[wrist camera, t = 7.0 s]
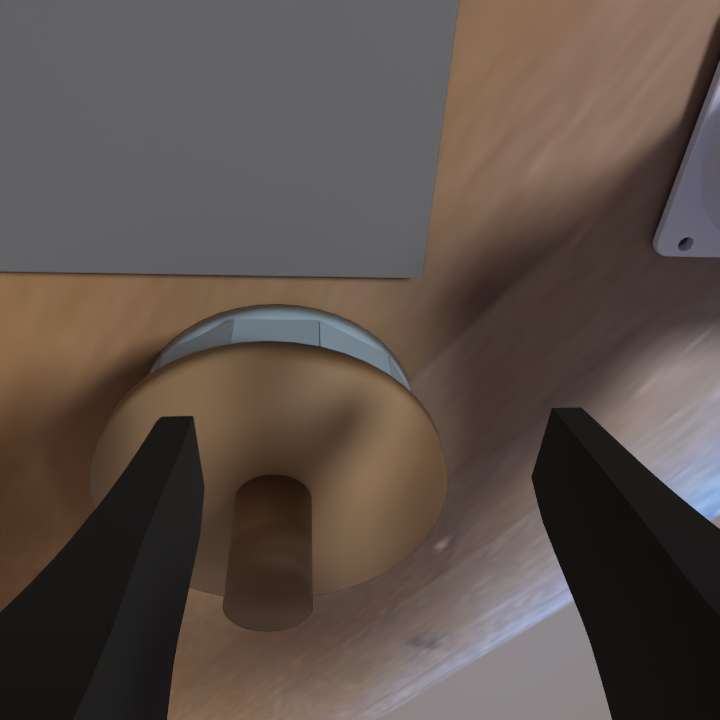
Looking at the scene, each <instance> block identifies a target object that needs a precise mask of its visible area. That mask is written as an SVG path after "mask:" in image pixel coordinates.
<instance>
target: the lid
mask: <svg viewBox="0 0 720 720" xmlns="http://www.w3.org/2000/svg"><path fill="white" fill-rule="evenodd" d="M165 416H193V417H194V423H195V429H196V436H197V442H198V448H199V455H200V461H201V467H202V473H203V480H204V486H205V490H204V501H203V513H202V523H201V532H200V539H199V544H198V548H197V553H196V558H195V563H194V567H193V572H192V577H191V581H190V586H189V587H190V588H193V589H196V590H199V591H203V592H207V593H211V594H215V595H220V596H224V601H223V611H224V614H225V616H226V617H227V618H228V619H229V620H230V621H231V622H233V623H234V624H236V625H238V626H240V627H242V628H245V629H249V630H254V631H264V632H270V631H280V630H285V629H288V628H291V627H294V626H296V625H298V624H300V623H302V622H303V621H304V620H306V619H307V618H308V617H309V615H310V614H311V612H312V609H313V596H319V595H323V594H328V593H332V592H337V591H340V590H343V589H346V588H349V587H352V586H355V585H358V584H360V583H363V582H365V581H368V580H370V579H372V578H374V577H376V576H378V575H380V574H382V573H384V572H386V571H388V570H389V569H391V568H392V567H394V566H395V565H397V564H398V563H400V562H401V561H403V560H404V559H405V558H406V557H407V556H409V555H410V554H411V553H412V552H413V551H415V550H416V549H417V547H418V546H419V545H420V544H421V543H422V542H423V541H424V540H425V539H426V538H427V536H428V535H429V533H430V532H431V531H432V529H433V528H434V526H435V525H436V523H437V521H438V519H439V517H440V515H441V512H442V510H443V506H444V503H445V499H446V495H447V484H448V479H447V468H446V463H445V459H444V454H443V450H442V446H441V443H440V439H439V436H438V432H437V429H436V427H435V425H434V423H433V421H432V419H431V417H430V415H429V414H428V412H427V411H426V409H425V408H424V407H423V405H422V404H421V403H420V401H419V400H418V399H417V398H416V397H415V396H414V395H413V394H412V393H411V392H410V391H409V390H408V389H407V388H406V387H405V386H404V385H403V384H401V383H400V382H399V381H397V380H396V379H394V378H393V377H392V376H390V375H389V374H388V373H386V372H384V371H383V370H381V369H379V368H377V367H375V366H373V365H372V364H370V363H368V362H366V361H363V360H361V359H358V358H356V357H353V356H351V355H348V354H346V353H343V352H339V351H336V350H332V349H328V348H325V347H321V346H315V345H309V344H303V343H296V342H281V341H255V342H240V343H234V344H228V345H222V346H215V347H212V348H208V349H205V350H201V351H198V352H194V353H191V354H188V355H186V356H184V357H181V358H179V359H176V360H174V361H171V362H169V363H167V364H165V365H164V366H162V367H160V368H159V369H157V370H155V371H153V372H152V373H150V374H148V375H147V376H146V377H144V378H143V379H142V380H141V381H139V382H138V383H137V384H135V385H134V386H133V387H132V388H131V389H130V390H129V391H128V392H127V393H126V394H125V395H124V396H123V397H122V398H121V399H120V400H119V401H118V403H117V404H116V406H115V407H114V409H113V410H112V412H111V413H110V415H109V416H108V418H107V421H106V423H105V425H104V428H103V430H102V432H101V435H100V438H99V440H98V443H97V446H96V448H95V451H94V454H93V457H92V462H91V467H90V472H89V480H90V493H91V498H92V503H93V506H94V508H95V509H96V508H97V507H98V505H99V504H100V503H101V501H102V500H103V499H104V497H105V496H106V495H107V493H108V492H109V491H110V489H111V488H112V487H113V485H114V484H115V482H116V481H117V480H118V478H119V477H120V476H121V474H122V473H123V472H124V470H125V469H126V467H127V466H128V464H129V463H130V461H131V460H132V458H133V457H134V456H135V454H136V453H137V451H138V450H139V448H140V447H141V445H142V443H143V442H144V440H145V439H146V437H147V436H148V434H149V432H150V431H151V429H152V428H153V426H154V424H155V423H156V421H157V420H158V419H159V418H160V417H165Z"/></svg>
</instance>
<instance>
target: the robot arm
mask: <svg viewBox="0 0 720 720" xmlns="http://www.w3.org/2000/svg"><path fill="white" fill-rule="evenodd" d="M687 237H688V239H687V241H686V242H685V243H684V244H683V245H680V246H678V244H679V242H680V241H681V240H682V239H684V238H687ZM653 247H654V249H655V250H656V251H657V252H658V253H659V254H660V255H662V256H673V257H720V61H719V64H718V66H717V69H716V72H715V74H714V77H713V80H712V82H711V85H710V88H709V91H708V93H707V96H706V99H705V101H704V104H703V107H702V109H701V112H700V115H699V118H698V120H697V123H696V126H695V128H694V131H693V134H692V137H691V139H690V142H689V145H688V147H687V150H686V153H685V155H684V158H683V161H682V164H681V166H680V169H679V172H678V174H677V177H676V180H675V182H674V185H673V188H672V191H671V193H670V196H669V199H668V201H667V204H666V207H665V209H664V212H663V215H662V218H661V220H660V223H659V226H658V228H657V231H656V234H655V236H654V239H653ZM532 481H533V485H534V490H535V494H536V498H537V502H538V506H539V509H540V513H541V517H542V520H543V524H544V526H545V529H546V531H547V534H548V537H549V539H550V542H551V544H552V547H553V549H554V552H555V554H556V557H557V559H558V562H559V564H560V567H561V569H562V571H563V574H564V576H565V579H566V581H567V584H568V586H569V589H570V591H571V594H572V596H573V599H574V601H575V604H576V606H577V608H578V611H579V613H580V616H581V618H582V621H583V623H584V626H585V629H586V632H587V635H588V637H589V640H590V643H591V646H592V650H593V653H594V657H595V660H596V663H597V667H598V670H599V674H600V677H601V681H602V684H603V687H604V691H605V694H606V698H607V702H608V706H609V710H610V713H611V717H612V720H720V529H719V528H718V527H716V526H715V525H714V524H712V523H711V522H710V521H709V520H707V519H706V518H705V517H704V516H702V515H701V514H700V513H699V512H697V511H696V510H695V509H694V508H692V507H691V506H690V505H689V504H688V503H686V502H685V501H684V500H683V499H681V498H680V497H679V496H678V495H677V494H675V493H674V492H673V491H672V490H671V489H670V488H668V487H667V486H666V485H665V484H664V483H663V482H662V481H660V480H659V479H658V478H657V477H656V476H655V475H654V474H652V473H651V472H650V471H649V470H648V469H647V468H646V467H645V466H644V465H642V464H641V463H640V462H639V461H638V460H637V459H636V458H635V457H634V456H633V455H632V454H631V453H629V452H628V451H627V450H626V449H625V448H624V447H623V446H622V445H621V444H620V443H619V442H618V441H617V440H616V439H615V438H613V437H612V436H611V435H610V434H609V433H608V432H607V431H606V430H605V429H604V428H603V427H602V426H601V425H600V424H599V423H597V422H596V421H595V420H594V419H593V418H592V417H591V416H590V415H589V414H588V413H587V412H585V411H584V410H583V409H582V408H552V410H551V414H550V417H549V420H548V424H547V427H546V430H545V434H544V437H543V440H542V444H541V447H540V450H539V454H538V457H537V461H536V464H535V467H534V471H533V474H532ZM204 490H205V486H204V480H203V473H202V467H201V461H200V455H199V448H198V442H197V436H196V429H195V423H194V417H193V416H165V417H160V418H159V419H158V420H157V421H156V423H155V424H154V426H153V428H152V429H151V431H150V432H149V434H148V436H147V437H146V439H145V440H144V442H143V443H142V445H141V447H140V448H139V450H138V451H137V453H136V454H135V456H134V457H133V458H132V460H131V461H130V463H129V464H128V466H127V467H126V469H125V470H124V472H123V473H122V474H121V476H120V477H119V478H118V480H117V481H116V482H115V484H114V485H113V487H112V488H111V489H110V491H109V492H108V493H107V495H106V496H105V497H104V499H103V500H102V501H101V503H100V504H99V505H98V507H97V508H96V509H95V510H94V512H93V513H92V514H91V515H90V516H89V518H88V519H87V520H86V521H85V523H84V524H83V525H82V526H81V527H80V529H79V530H78V531H77V532H76V534H75V535H74V536H73V537H72V538H71V540H70V541H69V542H68V543H67V544H66V545H65V546H64V548H63V549H62V550H61V551H60V552H59V553H58V554H57V555H56V557H55V558H54V559H53V560H52V561H51V562H50V563H49V564H48V565H47V566H46V567H45V568H44V569H43V571H42V572H41V573H40V574H39V575H38V576H37V577H36V578H35V579H34V580H33V581H32V582H31V583H30V584H29V585H28V586H27V587H26V588H25V589H24V590H23V591H22V592H21V593H20V594H19V595H18V596H17V597H16V598H15V599H14V600H13V601H12V602H11V603H10V604H8V605H7V606H6V607H5V608H4V609H3V610H2V611H1V612H0V720H167V714H168V705H169V697H170V688H171V680H172V672H173V664H174V658H175V653H176V647H177V641H178V637H179V632H180V627H181V623H182V618H183V614H184V609H185V604H186V600H187V595H188V591H189V586H190V581H191V577H192V572H193V567H194V563H195V558H196V553H197V548H198V544H199V539H200V532H201V523H202V513H203V501H204Z"/></svg>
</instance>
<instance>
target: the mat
mask: <svg viewBox="0 0 720 720" xmlns="http://www.w3.org/2000/svg"><path fill="white" fill-rule="evenodd" d="M458 6H459V0H0V271H9V272H70V273H131V274H192V275H253V276H314V277H376V278H422V276H423V268H424V261H425V253H426V246H427V238H428V231H429V223H430V216H431V209H432V201H433V194H434V186H435V179H436V171H437V164H438V156H439V149H440V141H441V134H442V126H443V119H444V111H445V104H446V96H447V89H448V81H449V74H450V66H451V59H452V51H453V44H454V36H455V29H456V21H457V14H458Z"/></svg>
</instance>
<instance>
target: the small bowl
mask: <svg viewBox="0 0 720 720" xmlns="http://www.w3.org/2000/svg"><path fill="white" fill-rule="evenodd" d="M255 341H281V342H296V343H303V344H309V345H315V346H321V347H325V348H328V349H332V350H336V351H339V352H343V353H346V354H348V355H351V356H353V357H356V358H358V359H361V360H363V361H366V362H368V363H370V364H372V365H373V366H375V367H377V368H379V369H381V370H383V371H384V372H386V373H388V374H389V375H390V376H392V377H393V378H394V379H396V380H397V381H399V382H400V383H401V384H403V385H404V386H405V387H406V388H407V389H408V390H409V391H410V392H411V393H412V391H411V388H410V384H409V381H408V378H407V376H406V374H405V372H404V370H403V368H402V365H401V364H400V363H399V361H398V360H397V358H396V357H395V356H394V354H393V353H392V352H391V351H390V350H389V349H388V348H387V347H386V345H385V344H384V343H383V342H382V341H380V340H379V339H378V338H377V337H375V336H374V335H373V334H371V333H370V332H369V331H367V330H366V329H364V328H362V327H361V326H359V325H357V324H356V323H354V322H352V321H350V320H347V319H345V318H343V317H340V316H338V315H336V314H332V313H329V312H326V311H322V310H319V309H314V308H309V307H303V306H298V305H283V304H269V305H255V306H248V307H242V308H236V309H233V310H229V311H226V312H222V313H219V314H216V315H214V316H211V317H209V318H207V319H204V320H202V321H200V322H198V323H197V324H195V325H193V326H191V327H190V328H188V329H186V330H185V331H184V332H182V333H181V334H180V335H178V336H177V337H176V338H175V339H173V340H172V341H171V342H170V343H169V344H168V345H167V346H166V347H165V348H164V350H163V351H162V352H161V353H160V355H159V356H158V357H157V359H156V360H155V362H154V363H153V365H152V367H151V369H150V371H149V374H150V373H152V372H153V371H155V370H157V369H159V368H160V367H162V366H164V365H165V364H167V363H169V362H171V361H174V360H176V359H179V358H181V357H184V356H186V355H188V354H191V353H194V352H198V351H201V350H205V349H208V348H212V347H215V346H222V345H228V344H234V343H240V342H255Z"/></svg>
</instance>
